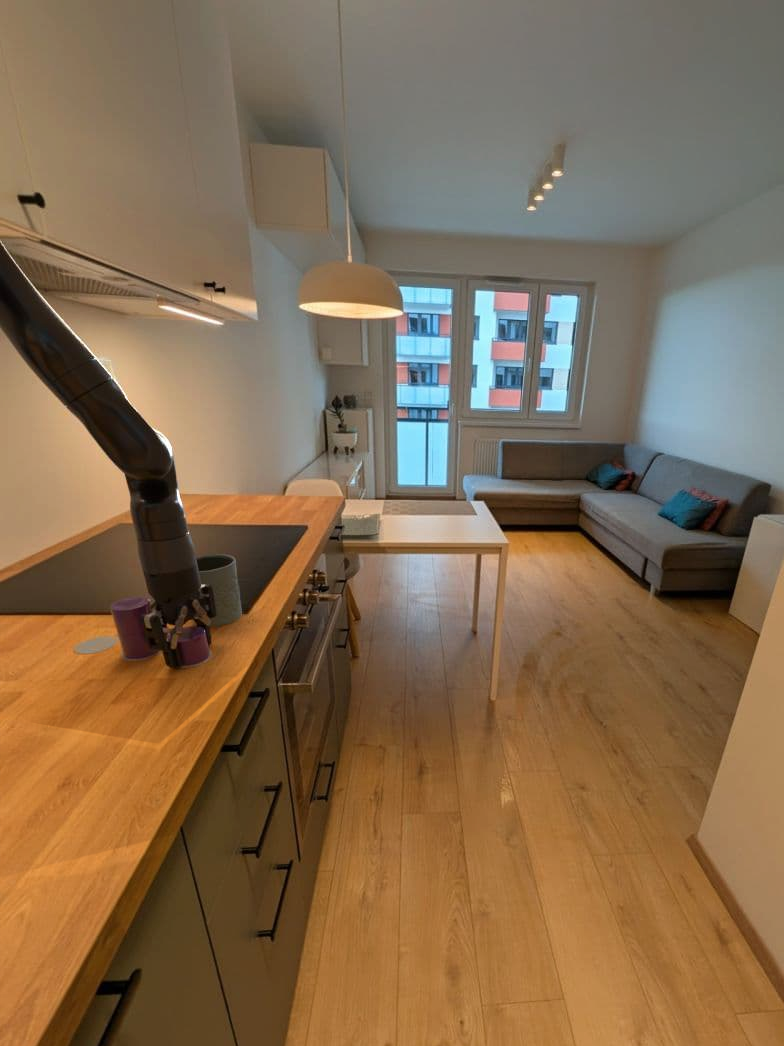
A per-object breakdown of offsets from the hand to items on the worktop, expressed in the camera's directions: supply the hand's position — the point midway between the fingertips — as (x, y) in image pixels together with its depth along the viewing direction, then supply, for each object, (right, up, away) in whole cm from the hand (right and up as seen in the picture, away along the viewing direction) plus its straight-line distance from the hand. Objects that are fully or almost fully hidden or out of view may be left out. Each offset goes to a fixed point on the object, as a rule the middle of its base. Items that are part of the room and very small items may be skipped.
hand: (190, 655), depth 85 cm
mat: (-9, 0, +2) cm, 10 cm away
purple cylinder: (-9, +5, 0) cm, 10 cm away
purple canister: (0, 0, 0) cm, 0 cm away
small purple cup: (-9, +1, +2) cm, 10 cm away
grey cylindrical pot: (-2, +5, +15) cm, 16 cm away
